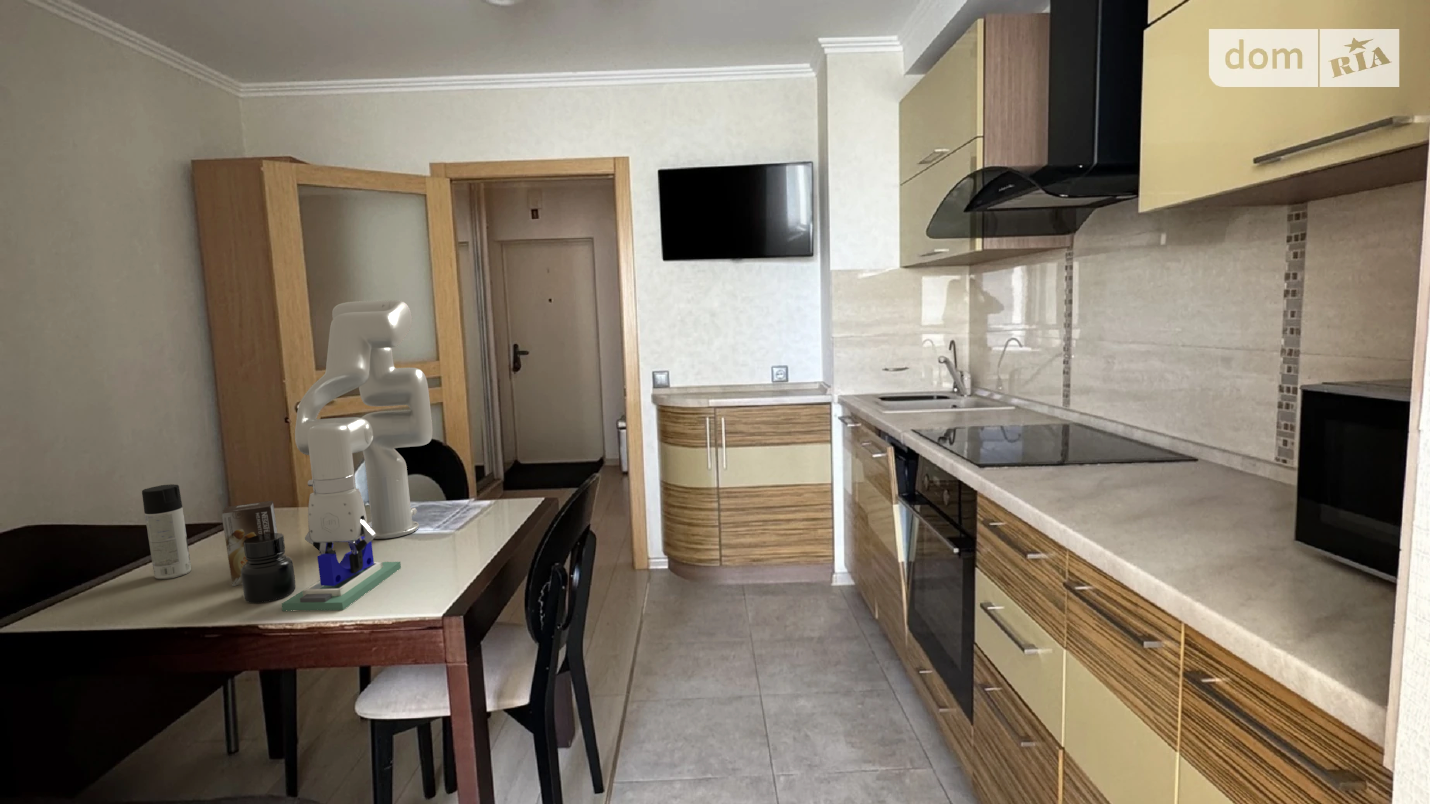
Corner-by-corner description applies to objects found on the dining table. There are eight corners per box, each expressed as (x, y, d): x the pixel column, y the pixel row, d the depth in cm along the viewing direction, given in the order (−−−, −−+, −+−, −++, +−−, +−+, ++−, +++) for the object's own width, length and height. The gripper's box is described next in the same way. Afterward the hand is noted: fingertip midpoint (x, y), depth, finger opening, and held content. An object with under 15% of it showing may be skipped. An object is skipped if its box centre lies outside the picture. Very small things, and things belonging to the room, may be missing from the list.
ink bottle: (302, 583, 148) (296, 528, 146) (292, 599, 139) (285, 541, 138) (249, 591, 145) (242, 535, 143) (235, 607, 136) (227, 548, 135)
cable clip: (355, 563, 150) (352, 536, 150) (373, 563, 150) (370, 536, 149) (314, 585, 139) (310, 556, 138) (334, 585, 138) (330, 556, 137)
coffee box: (283, 569, 157) (275, 499, 155) (281, 578, 152) (272, 505, 150) (234, 577, 153) (225, 506, 151) (230, 587, 147) (220, 513, 145)
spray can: (198, 570, 159) (187, 484, 156) (167, 581, 152) (154, 491, 150) (178, 568, 161) (166, 483, 158) (146, 578, 155) (133, 490, 152)
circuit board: (348, 569, 155) (347, 557, 155) (400, 568, 155) (399, 556, 154) (282, 611, 134) (280, 597, 133) (343, 610, 133) (341, 596, 132)
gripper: (281, 490, 138) (292, 579, 141) (365, 488, 137) (374, 577, 140) (306, 481, 146) (316, 565, 148) (384, 479, 145) (393, 564, 147)
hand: (344, 570), depth 144 cm, fingers closed on cable clip, 4 cm apart
